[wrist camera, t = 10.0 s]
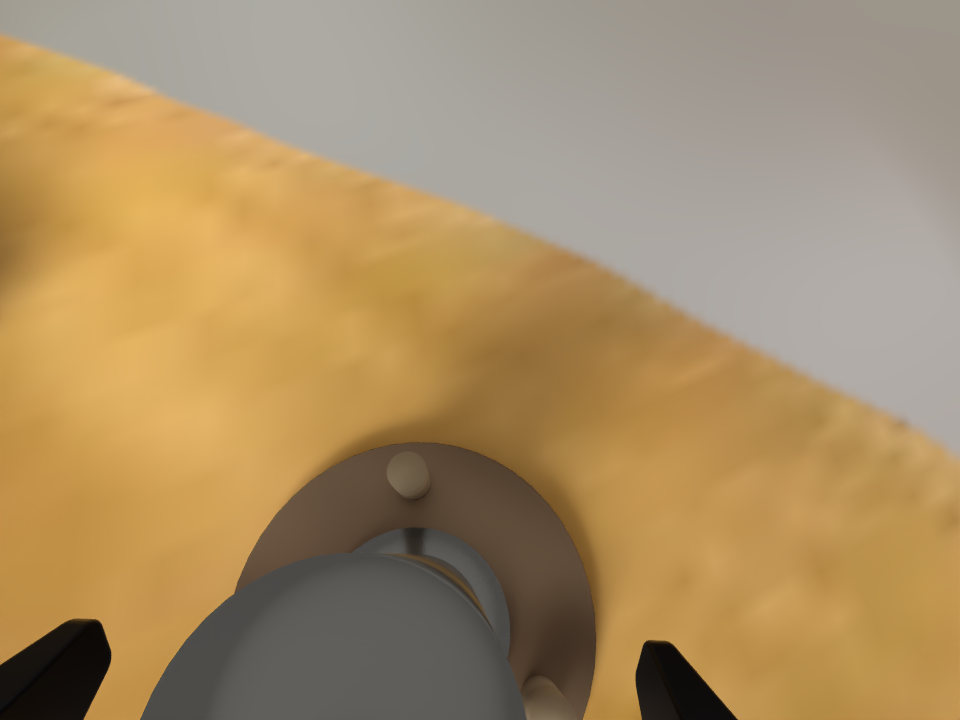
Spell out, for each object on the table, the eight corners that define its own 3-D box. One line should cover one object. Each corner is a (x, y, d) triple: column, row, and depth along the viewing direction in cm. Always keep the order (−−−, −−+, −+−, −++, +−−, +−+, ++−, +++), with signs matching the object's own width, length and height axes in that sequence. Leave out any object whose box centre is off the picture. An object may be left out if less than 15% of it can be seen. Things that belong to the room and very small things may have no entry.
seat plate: (613, 829, 15) (654, 902, 12) (209, 864, 14) (139, 951, 11) (568, 441, 19) (590, 419, 16) (256, 453, 18) (215, 432, 15)
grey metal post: (546, 620, 16) (710, 740, 6) (413, 797, 14) (299, 1437, 4) (413, 490, 17) (349, 395, 7) (275, 637, 15) (-83, 801, 5)
